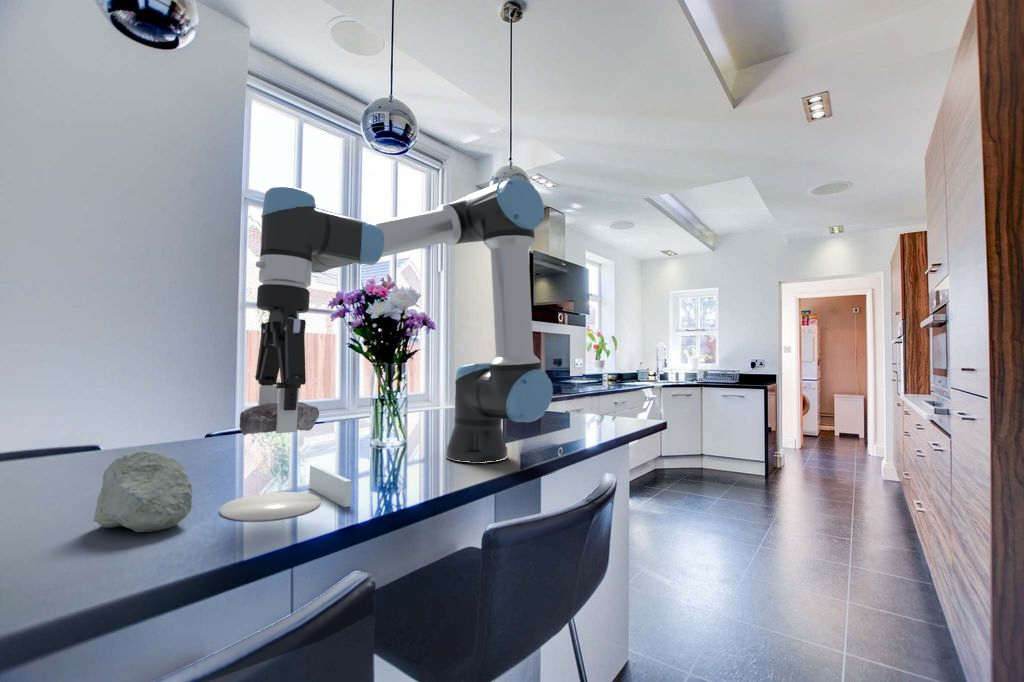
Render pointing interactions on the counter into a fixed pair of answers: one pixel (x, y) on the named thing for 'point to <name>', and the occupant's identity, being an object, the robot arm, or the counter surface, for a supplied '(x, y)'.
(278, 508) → the pad
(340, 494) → the divider wall
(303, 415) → the rock
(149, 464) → the decorative stone
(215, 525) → the counter surface
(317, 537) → the counter surface
